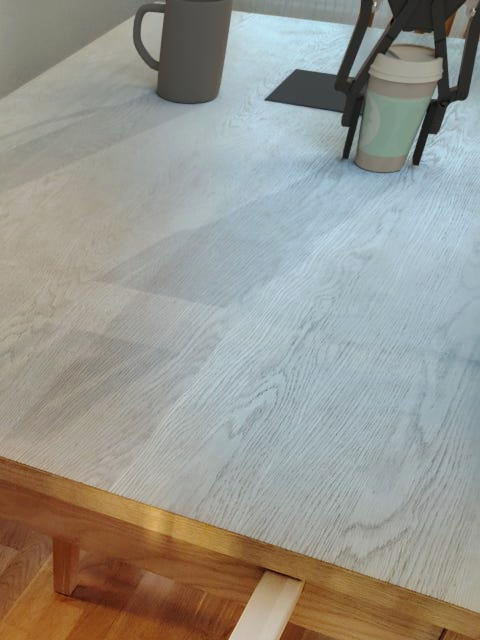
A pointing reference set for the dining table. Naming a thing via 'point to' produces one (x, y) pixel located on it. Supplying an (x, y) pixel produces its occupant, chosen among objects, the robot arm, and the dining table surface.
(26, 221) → the dining table surface
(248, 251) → the dining table surface
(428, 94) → the coffee cup
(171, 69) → the mug
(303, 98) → the placemat
